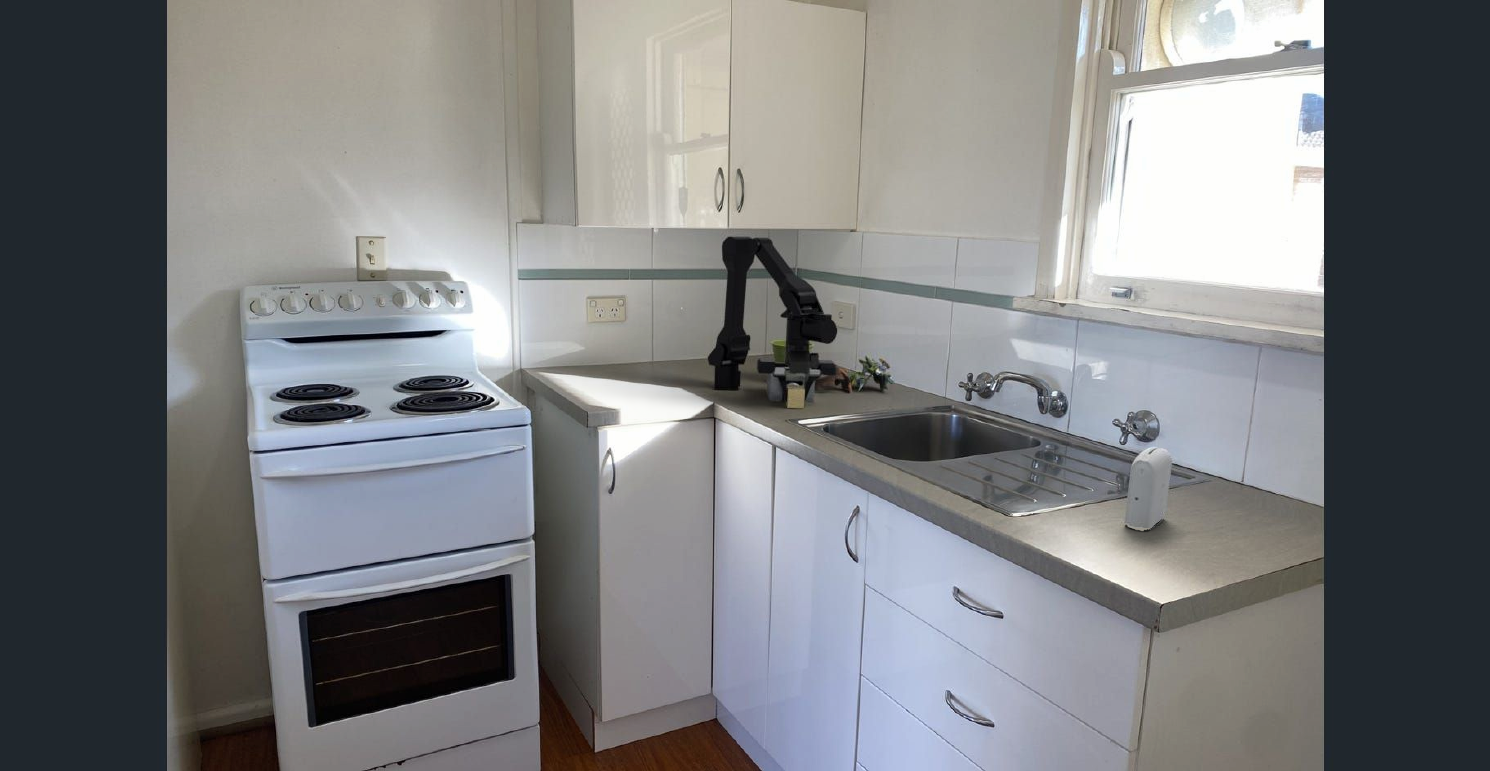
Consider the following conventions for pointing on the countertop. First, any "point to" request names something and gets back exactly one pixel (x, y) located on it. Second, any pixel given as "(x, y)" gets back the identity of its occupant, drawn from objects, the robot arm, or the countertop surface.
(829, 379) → the brown lumpy piece
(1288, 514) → the countertop surface
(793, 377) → the housing
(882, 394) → the countertop surface
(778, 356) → the plant pot
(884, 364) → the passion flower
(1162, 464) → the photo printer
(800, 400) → the end cover
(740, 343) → the robot arm
